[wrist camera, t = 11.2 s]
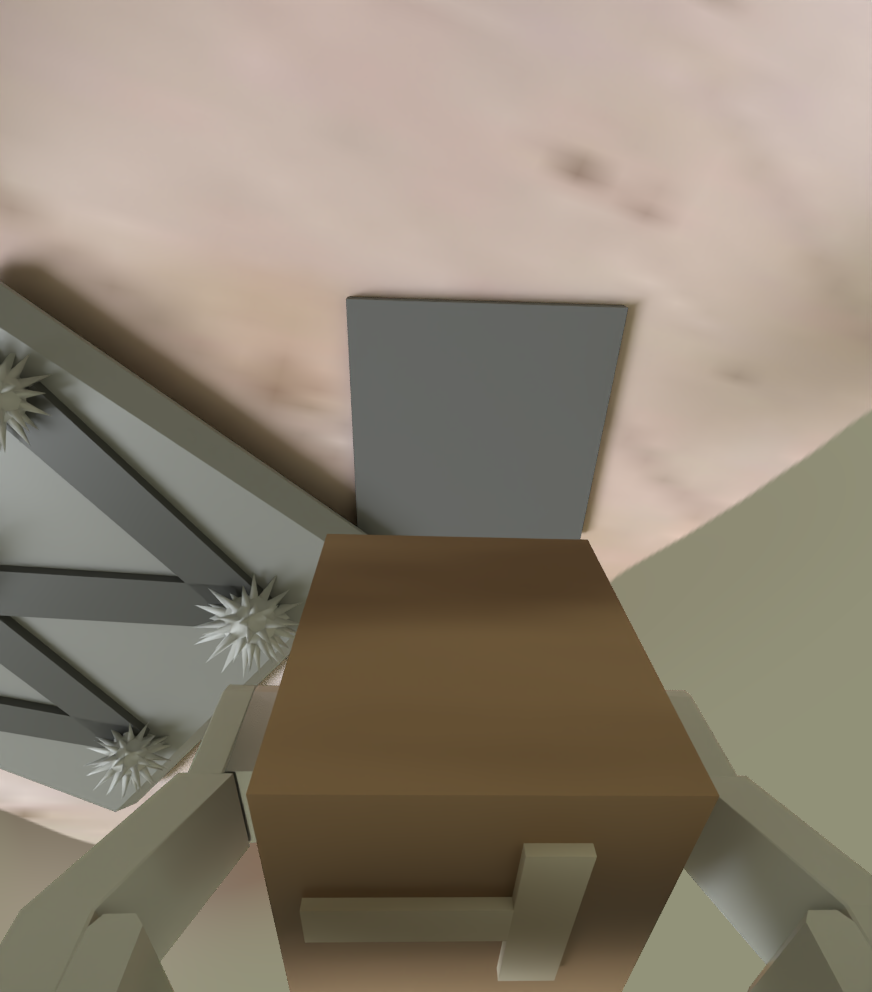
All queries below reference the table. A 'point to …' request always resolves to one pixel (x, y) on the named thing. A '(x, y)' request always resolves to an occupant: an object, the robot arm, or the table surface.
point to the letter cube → (470, 773)
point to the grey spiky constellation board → (130, 566)
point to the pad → (478, 414)
